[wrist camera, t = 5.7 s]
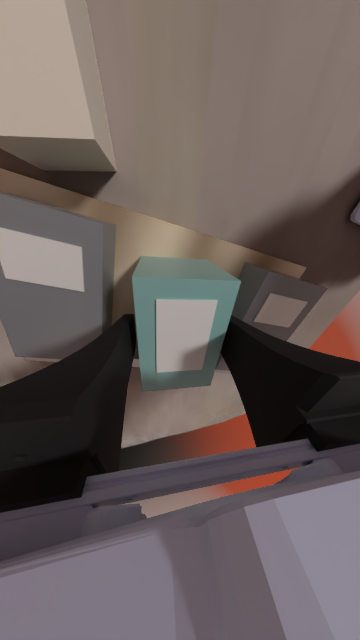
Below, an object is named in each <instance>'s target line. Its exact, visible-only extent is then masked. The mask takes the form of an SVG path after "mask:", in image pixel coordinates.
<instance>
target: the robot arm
mask: <svg viewBox="0 0 360 640" xmlns="http://www.w3.org/2000/svg"><path fill="white" fill-rule="evenodd" d="M350 219H351V221H352V222H354V223H356V224H359V225H360V202H359V203H358V205H357V206H356V208H355V209H354V211H353V212H352V214H351V217H350ZM135 349H136V329H135V320H134V314H124V315H123V316H122V317H121V318H120V319H118V320H117V321H116V322H115V323H114V324H113V325H112V326H111V327H110V328H109V329H107V330H106V331H105V332H104V333H102V334H101V335H100V336H99V337H97V338H96V339H95V340H93V341H92V342H90V343H89V344H87V345H86V346H84V347H83V348H81V349H80V350H78V351H76V352H74V353H73V354H71V355H69V356H67V357H65V358H64V359H62V360H60V361H58V362H56V363H54V364H52V365H50V366H48V367H46V368H44V369H42V370H40V371H37V372H35V373H33V374H31V375H29V376H26V377H24V378H22V379H19V380H17V381H14V382H12V383H9V384H7V385H5V386H2V387H0V640H360V362H358V361H354V360H349V359H345V358H341V357H336V356H332V355H328V354H324V353H321V352H317V351H313V350H310V349H307V348H304V347H301V346H298V345H295V344H292V343H289V342H286V341H284V340H281V339H279V338H276V337H274V336H271V335H269V334H267V333H265V332H263V331H261V330H259V329H257V328H255V327H253V326H251V325H249V324H247V323H245V322H244V321H242V320H240V319H238V318H236V317H234V316H232V315H231V317H230V321H229V324H228V327H227V331H226V334H225V338H224V341H223V344H222V348H221V351H220V353H221V355H222V357H223V359H224V361H225V363H226V365H227V367H228V368H229V370H230V372H231V374H232V376H233V379H234V381H235V384H236V386H237V389H238V391H239V394H240V397H241V400H242V402H243V405H244V408H245V411H246V414H247V417H248V420H249V423H250V427H251V430H252V433H253V437H254V440H255V444H256V448H251V449H245V450H239V451H233V452H228V453H222V454H216V455H210V456H205V457H199V458H193V459H187V460H182V461H176V462H170V463H164V464H158V465H152V466H147V467H141V468H136V469H129V470H124V471H119V465H120V453H121V441H122V431H123V421H124V412H125V403H126V395H127V387H128V381H129V377H130V372H131V368H132V363H133V359H134V355H135ZM303 466H304V467H303ZM298 467H301V468H298ZM293 468H298V469H295V470H293V471H291V473H290V474H289V475H288V476H287V477H285V478H284V479H282V480H281V481H279V482H277V483H275V484H274V485H271V486H266V487H262V488H257V489H253V490H249V491H245V492H241V493H237V494H233V495H229V496H225V497H221V498H218V499H214V500H210V501H207V502H203V503H199V504H196V505H192V506H189V507H185V508H182V509H179V510H175V511H172V512H168V513H165V514H161V515H158V516H154V517H151V518H147V517H146V515H145V514H142V513H141V506H140V504H128V505H120V504H125V503H130V502H135V501H140V500H144V499H149V498H154V497H159V496H164V495H168V494H173V493H178V492H183V491H188V490H192V489H197V488H202V487H207V486H212V485H217V484H221V483H226V482H231V481H235V480H241V479H245V478H250V477H255V476H260V475H265V474H270V473H274V472H279V471H284V470H289V469H293Z"/></svg>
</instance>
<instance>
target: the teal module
mask: <svg viewBox="0 0 360 640" xmlns="http://www.w3.org/2000/svg"><path fill="white" fill-rule="evenodd" d="M132 284H133V295H134V306H135V317H136V328H137V340H138V351H139V362H140V373H141V384H142V391H154V390H165V389H177V388H188V387H200V386H210V385H211V381H212V378H213V375H214V371H215V368H216V364H217V361H218V358H219V354H220V351H221V348H222V344H223V341H224V338H225V334H226V331H227V327H228V324H229V321H230V317H231V314H232V311H233V307H234V304H235V300H236V297H237V294H238V290H239V287H240V284H241V281H240V280H239V279H237V278H236V277H234V276H232V275H231V274H229V273H227V272H226V271H224V270H223V269H221V268H219V267H218V266H216V265H215V264H213V263H211V262H210V261H208V260H203V259H186V258H169V257H153V256H141V258H140V260H139V262H138V265H137V267H136V269H135V271H134V273H133V276H132Z"/></svg>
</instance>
